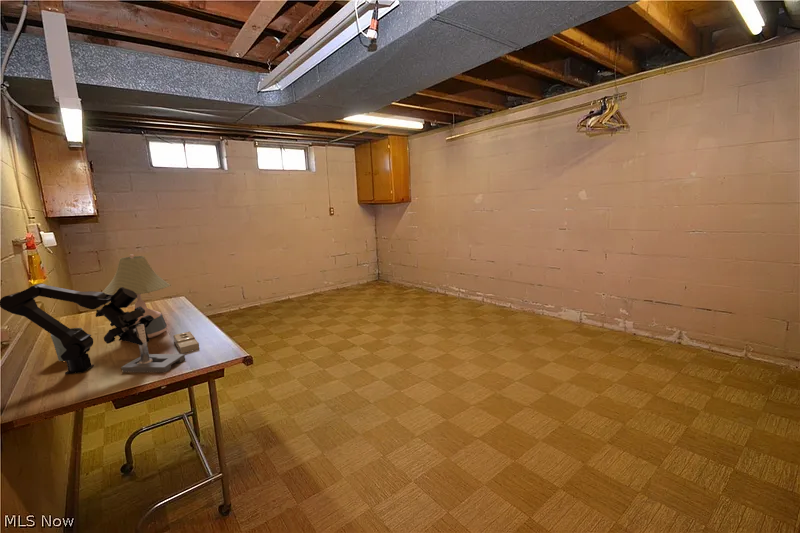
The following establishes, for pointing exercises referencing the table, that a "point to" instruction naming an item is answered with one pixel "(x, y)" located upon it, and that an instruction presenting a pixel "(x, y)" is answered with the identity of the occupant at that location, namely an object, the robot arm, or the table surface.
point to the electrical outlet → (185, 342)
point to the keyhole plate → (154, 363)
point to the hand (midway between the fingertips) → (145, 342)
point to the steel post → (143, 348)
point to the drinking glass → (59, 346)
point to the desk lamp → (139, 288)
